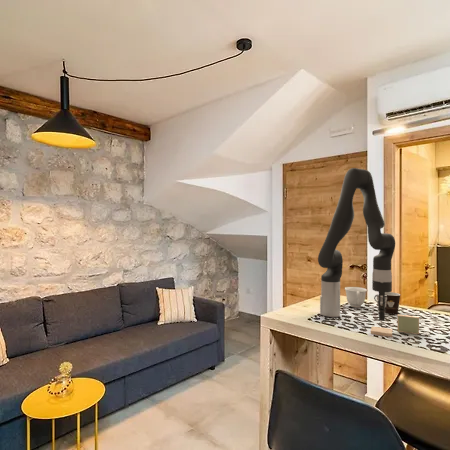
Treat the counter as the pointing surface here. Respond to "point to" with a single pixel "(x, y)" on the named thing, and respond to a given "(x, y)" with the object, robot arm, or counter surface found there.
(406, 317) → the tile
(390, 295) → the coffee mug
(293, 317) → the counter surface
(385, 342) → the counter surface
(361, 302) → the teacup
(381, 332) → the tile
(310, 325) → the counter surface
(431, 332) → the counter surface
